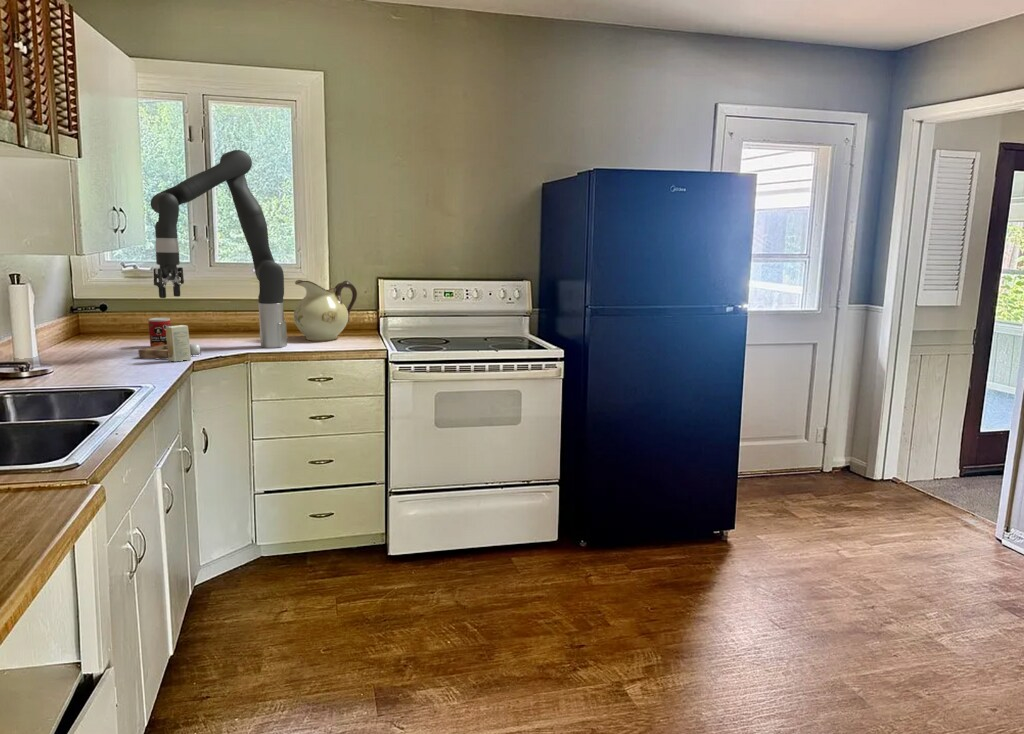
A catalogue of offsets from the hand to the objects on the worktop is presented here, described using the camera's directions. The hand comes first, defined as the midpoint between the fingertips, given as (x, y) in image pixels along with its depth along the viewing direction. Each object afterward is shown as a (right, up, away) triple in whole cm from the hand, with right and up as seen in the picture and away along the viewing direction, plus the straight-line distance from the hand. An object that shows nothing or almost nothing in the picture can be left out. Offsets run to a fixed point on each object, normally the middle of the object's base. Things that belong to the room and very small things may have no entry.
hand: (170, 297), depth 268 cm
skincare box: (+6, -23, -7) cm, 25 cm away
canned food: (-15, -17, +25) cm, 34 cm away
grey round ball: (+7, -21, +5) cm, 22 cm away
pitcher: (+41, -13, +52) cm, 68 cm away
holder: (-2, -21, +4) cm, 21 cm away
